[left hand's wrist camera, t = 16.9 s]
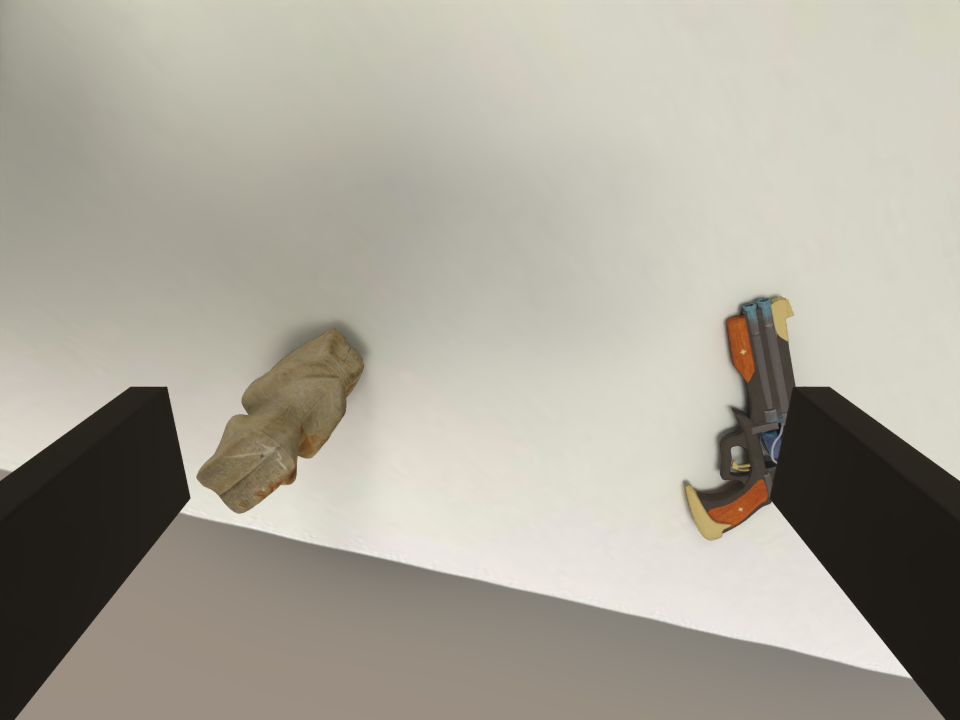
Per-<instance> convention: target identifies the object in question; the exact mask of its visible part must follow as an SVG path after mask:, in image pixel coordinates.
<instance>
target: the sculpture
mask: <svg viewBox="0 0 960 720" xmlns="http://www.w3.org/2000/svg"><path fill="white" fill-rule="evenodd" d="M363 368H364V365H363V359H362V358H361V356H360V355H359V353H358V352H357V351H356V350H355V349H352V348H351V347H350V346H349V345H348V344H347V343H346V342H345V338H344V336H343V335H342V334H341V333H339V332H338V331H337V330H336V329H335V328H332V329H330V330H328V331H327V332H325V333H324V334H322V335H321V336H319V337H317V338H316V339H313V340H311V341H309V342H308V343H306V344H304V345H302V346H301V347H299V348H297V349H296V350H294V351H293V352H292V353H290V354H289V355H287V356H286V357H285V358H283V359H282V360H281V361H280V362H279V363H277V364H276V365H275V366H274V367H273V368H272V369H271V370H270V371H269V372H268V373H266V374H265V375H263V376H262V377H260V378H258V379H257V380H255V381H254V382H253V383H252V384H251V385H250V386H249V387H248V388H247V389H246V391H245V393H244V394H243V396H242V405H243V407H244V408H245V410H246V412H247V413H248V415H240V414H239V415H235V416H233V417H232V418H231V419H230V420H229V422H228V423H227V425H226V428H225V431H224V433H223V436H222V439H221V441H220V444H219V446H218V448H217V450H216V452H215V454H214V455H213V456H212V457H211V458H210V459H209V460H208V461H207V462H205V464H204V465H203V466H202V467H201V468H200V470H199V472H198V474H197V480H198V481H199V482H200V483H201V484H202V485H203V486H204V487H207V488H209V489H211V490H213V491H214V492H216V493H217V494H218V495H219V497H220V498H221V499H222V501H223V502H224V503H225V504H226V505H227V506H228V507H229V508H230V509H231V510H232V511H234V512H236V513H239V514H240V513H244V512H246V511H248V510H250V509H251V508H253V507H254V506H255V505H257V504H259V503H260V502H261V501H262V500H263V499H265V498H266V497H267V496H268V495H270V494H271V493H272V492H273V491H275V490H276V489H277V488H278V487H279V486H280V485H290V484H292V483H293V482H294V481H295V479H296V476H297V456H300V457H303V458H312V457H313V456H314V455H315V454H316V453H317V452H318V451H319V450H320V448H321V447H322V446H323V445H324V444H325V442H326V441H327V440H328V439H329V437H330V435H331V434H332V432H333V431H334V429H335V428H336V426H337V425H338V423H339V422H340V421H341V419H342V418H343V416H344V414H345V412H346V397H347V396H348V395H349V394H350V392H351V391H352V390H353V388H354V387H355V385H356V383H357V381H358V380H359V378H360V376H361V373H362V371H363Z"/></svg>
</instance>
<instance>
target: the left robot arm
mask: <svg viewBox="0 0 960 720" xmlns="http://www.w3.org/2000/svg"><path fill="white" fill-rule="evenodd" d="M189 500H190V493H189V489H188V484H187V479H186V474H185V470H184V465H183V460H182V455H181V451H180V446H179V441H178V436H177V431H176V427H175V422H174V417H173V412H172V408H171V403H170V398H169V393H168V389H167V387H130V388H128V389H127V390H125V391H124V392H123V393H121V394H120V395H119V396H117V397H116V398H114V399H113V400H112V401H110V402H109V403H107V404H106V405H105V406H103V407H102V408H101V409H99V410H98V411H96V412H95V413H94V414H92V415H91V416H89V417H88V418H87V419H85V420H84V421H83V422H81V423H80V424H78V425H77V426H76V427H74V428H73V429H72V430H70V431H69V432H67V433H66V434H65V435H63V436H62V437H60V438H59V439H58V440H56V441H55V442H54V443H52V444H51V445H49V446H48V447H47V448H45V449H44V450H42V451H41V452H40V453H38V454H37V455H36V456H34V457H33V458H31V459H30V460H29V461H27V462H26V463H24V464H23V465H22V466H20V467H19V468H18V469H16V470H15V471H13V472H12V473H11V474H9V475H8V476H6V477H5V478H4V479H2V480H1V481H0V720H15V718H16V717H17V716H18V715H19V713H20V712H21V711H22V710H23V708H24V707H25V706H26V705H27V703H28V702H29V701H30V700H31V698H32V697H33V696H34V694H35V693H36V692H37V691H38V689H39V688H40V687H41V686H42V684H43V683H44V682H45V681H46V679H47V678H48V677H49V676H50V674H51V673H52V672H53V671H54V669H55V668H56V667H57V666H58V664H59V663H60V662H61V661H62V659H63V658H64V657H65V655H66V654H67V653H68V652H69V650H70V649H71V648H72V647H73V645H74V644H75V643H76V642H77V640H78V639H79V638H80V637H81V635H82V634H83V633H84V632H85V630H86V629H87V628H88V627H89V625H90V624H91V623H92V621H93V620H94V619H95V618H96V616H97V615H98V614H99V613H100V611H101V610H102V609H103V608H104V606H105V605H106V604H107V603H108V601H109V600H110V599H111V598H112V596H113V595H114V594H115V593H116V591H117V590H118V589H119V587H120V586H121V585H122V584H123V583H124V581H125V580H126V579H127V577H128V576H129V575H130V574H131V572H132V571H133V570H134V569H135V567H136V566H137V565H138V564H139V562H140V561H141V560H142V559H143V557H144V556H145V555H146V554H147V552H148V551H149V550H150V549H151V547H152V546H153V545H154V544H155V542H156V541H157V540H158V539H159V537H160V536H161V535H162V533H163V532H164V531H165V530H166V528H167V527H168V526H169V525H170V523H171V522H172V521H173V520H174V518H175V517H176V516H177V515H178V513H179V512H180V511H181V510H182V508H183V507H184V506H185V505H186V503H187V502H188V501H189ZM770 500H771V501H772V502H773V503H774V505H775V506H776V507H777V508H778V510H779V511H780V512H781V513H782V515H783V516H784V517H785V518H786V520H787V521H788V522H789V523H790V525H791V526H792V527H793V528H794V530H795V531H796V532H797V533H798V535H799V536H800V537H801V539H802V540H803V541H804V542H805V544H806V545H807V546H808V547H809V549H810V550H811V551H812V552H813V554H814V555H815V556H816V557H817V559H818V560H819V561H820V562H821V564H822V565H823V566H824V567H825V569H826V570H827V571H828V572H829V574H830V575H831V576H832V578H833V579H834V580H835V581H836V583H837V584H838V585H839V586H840V588H841V589H842V590H843V591H844V593H845V594H846V595H847V596H848V598H849V599H850V600H851V601H852V603H853V604H854V605H855V606H856V608H857V609H858V610H859V611H860V613H861V614H862V615H863V617H864V618H865V619H866V620H867V622H868V623H869V624H870V625H871V627H872V628H873V629H874V630H875V632H876V633H877V634H878V635H879V637H880V638H881V639H882V640H883V642H884V643H885V644H886V645H887V647H888V648H889V649H890V650H891V652H892V653H893V654H894V655H895V657H896V658H897V659H898V661H899V662H900V663H901V664H902V666H903V667H904V668H905V669H906V671H907V672H908V673H909V674H910V676H911V677H912V678H913V679H914V681H915V682H916V683H917V684H918V686H919V687H920V688H921V689H922V691H923V692H924V693H925V694H926V696H927V697H928V698H929V700H930V701H931V702H932V703H933V704H934V706H935V707H936V708H937V710H938V711H939V712H940V713H941V715H942V716H943V717H944V718H945V720H960V481H959V480H958V479H956V478H955V477H954V476H952V475H951V474H949V473H948V472H947V471H945V470H944V469H942V468H941V467H940V466H938V465H937V464H936V463H934V462H933V461H931V460H930V459H929V458H927V457H926V456H924V455H923V454H922V453H920V452H919V451H918V450H916V449H915V448H913V447H912V446H911V445H909V444H908V443H906V442H905V441H904V440H902V439H901V438H900V437H898V436H897V435H895V434H894V433H893V432H891V431H890V430H888V429H887V428H886V427H884V426H883V425H882V424H880V423H879V422H877V421H876V420H875V419H873V418H872V417H871V416H869V415H868V414H866V413H865V412H864V411H862V410H861V409H859V408H858V407H857V406H855V405H854V404H853V403H851V402H850V401H848V400H847V399H846V398H844V397H843V396H841V395H840V394H839V393H837V392H836V391H835V390H833V389H832V388H830V387H793V389H792V393H791V398H790V403H789V408H788V412H787V417H786V422H785V427H784V431H783V436H782V441H781V446H780V450H779V455H778V460H777V465H776V470H775V474H774V479H773V484H772V489H771V493H770Z"/></svg>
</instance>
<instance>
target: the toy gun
mask: <svg viewBox="0 0 960 720" xmlns="http://www.w3.org/2000/svg"><path fill="white" fill-rule="evenodd" d="M756 303H757V305H756V304H755V303H748V304H745V305H743V310H741V312H742V315H740V316H736V317H732V318H730V319H728V320H727V328H728V335H729V342H730V348H731V354H732V360H733V364H734V366H735V367H736V369H737V370H738V371H739V373H740V374H741V375H742V376H743V378H744V379H745V380H746V383H747V389H748V394H749V402H750V406H749V412H748V415H747V414H746V413H744V412H742V411H740V410H738V409H735V408H732V410H733V412H734V414H735V415H736V417H737V418H738V420H739V423H740V425H741V429H740V430H739V431H738V432H733V433H729V434H727V435H725V436H724V437H723V438H722V439H721V441H720V446H721V451H722V464H721V469H720V475H721V477H722V479H723V480H739V481H740V482H739V483H737V484H736V485H734V486H733V487H731V488H730V489H728V490H726V491H724V492H722V493H719V494H700V493H698V492H696V491H695V490H694V488H693V487H692V486H691V485H688V486H686V494H687V499H688V503H689V506H690V509H691V512H692V515H693V518H694V521H695V523H696V526H697V528H698V530H699V532H700V533H701V535H702V536H703V537H704V538H705V539H707V540H715V539H719V538H721V537H722V533H725V532H727V531H729V530H731V529H733V528H735V527H736V526H738V525H740V524H741V523H743V522H744V521H745V520H747V519H748V518H749V517H750V516H751V515H753V514H754V513H755V512H756V511H757V510H759V509H760V508H762V507H763V506H765V505H768V504H770V503H771V502H772V501H771V500H770V493H771V489H772V484H773V479H774V474H775V470H776V465H777V460H778V455H779V450H780V446H781V441H782V436H783V431H784V427H785V425H784V424H785V422H786V417H787V412H788V408H789V403H790V398H791V393H792V389H793V387H796V386H795V381H794V375H793V369H792V363H791V357H790V351H789V344H788V342H789V339H788V332H787V326H786V318H788V317H791V316H794V314H793V311H792V309H791V306H790V303H789V300H786V298H783V297H778V298H774V299H772V300H771V299H770V298H763V299H759V300H757V301H756ZM757 433H761V435H760V440H759V438H758V435H757ZM762 439H763V441H764V444H765V446H766V448H767V450H768V452H769V453H768V452H767V451H766V449H765V448H764V446H763V444H762ZM734 446H741V447H744V448H746V451H747V456H748V460H749V464H742V465H737V464H736V462H735V460H733V461H732V464H731V448H732V447H734ZM761 446H762V447H761ZM762 448H763V450H764V451H765V452H766V454H767V455H769V456H770V457H771V458H772V460H773V461H768V462H764V457H763V452H762ZM731 466H732V468H734V469H736V470H739V471H746V472H741V473H734V472H730V467H731ZM743 467H748V468H746V469H741V468H743Z"/></svg>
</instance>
